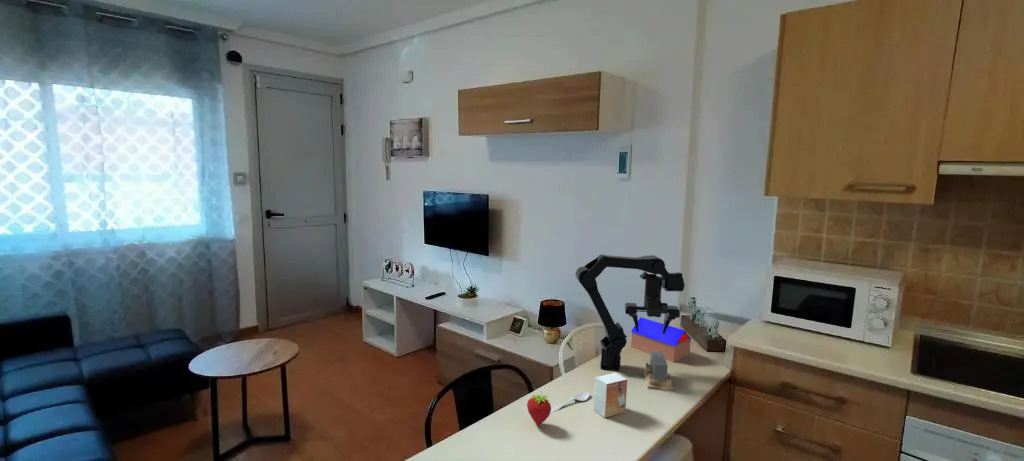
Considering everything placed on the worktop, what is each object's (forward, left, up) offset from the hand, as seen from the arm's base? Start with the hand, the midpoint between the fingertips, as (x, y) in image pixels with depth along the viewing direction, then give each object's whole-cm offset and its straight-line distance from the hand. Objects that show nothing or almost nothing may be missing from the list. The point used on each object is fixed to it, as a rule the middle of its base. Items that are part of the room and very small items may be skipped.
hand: (650, 332), depth 175 cm
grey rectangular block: (+2, -11, -10) cm, 15 cm away
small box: (-15, -36, -13) cm, 41 cm away
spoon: (-28, -35, -14) cm, 47 cm away
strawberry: (-35, -48, -13) cm, 61 cm away
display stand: (+2, -11, -13) cm, 17 cm away
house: (+6, +17, -14) cm, 23 cm away
